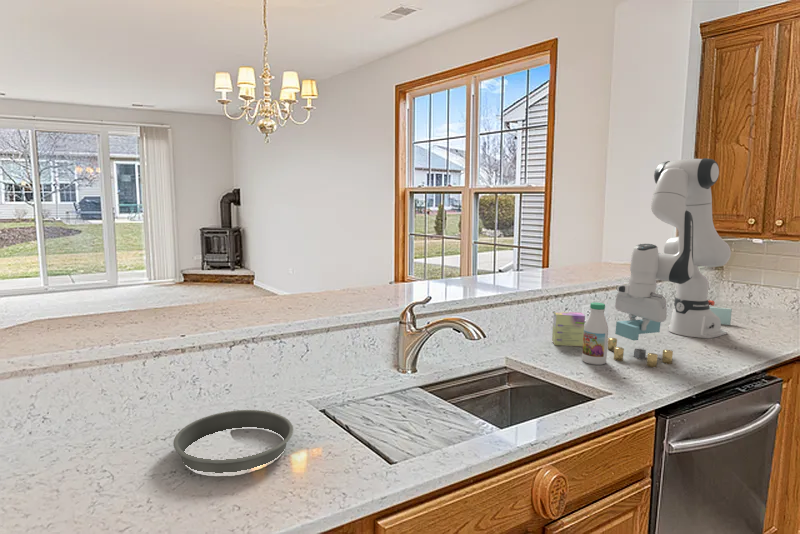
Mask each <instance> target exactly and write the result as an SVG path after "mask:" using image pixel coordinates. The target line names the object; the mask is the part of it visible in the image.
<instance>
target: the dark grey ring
mask: <svg viewBox="0 0 800 534" xmlns="http://www.w3.org/2000/svg"><path fill="white" fill-rule="evenodd" d="M242 427H257V428H264V429H269V430H272V431H274V432H276V433H278V434H280V435H281V436H282V437H283V438H284V441H283V440H281V441H280V443H278V444H277V445H276V446H274V447H272V448H270V449H267V450H266V451H265V452H262V453H259V454H256V455H252V456H248V457H243V458H237V459H226V460H211V459H203V458H197V457H194V456H191V455H188V454H186V453H185V452H184V451H185V449H186V448H187V447H188V446H189V445H191V444H192V443H193V442H195V441H197V440H198V439H200V438H202V437H204V436H206V435H209V434H213V433H215V432H218V431H223V430H226V429H232V428H242ZM293 434H294V426H293V424H292V422H291V421H290V420H289V419H288V418H286V417H285V416H283V415H280V414H278V413H275V412H271V411H267V410H259V409H240V410H239V409H237V410H230V411H224V412H219V413H215V414H211V415H210V414H209V415H207V416H205V417H201V418H200V419H197V420H195V421H194V420H193V422H191V423H189V424H187V425H186V426H184V427H183V428H182V429H180V431H178V433H176V435H175V437H174V439H173V448H174V450H175V451H176V453H177V454H178V455H180V457H181V460H183V461H182V463H183V462H184V464H185V465H187V466H188V467H190V468H191V469H194V470H197V471H203V472H215V473H223V472H237V471H241V470H247V469H251V468H254V467H257V466H260V465H263V464H266V463H268V462H270V461H272V460H274V459H275V458H277V457H278V456H279V455H280V454H281V453H282V452H283V451H284V449H285V450H286V448H287V445H288V442H289V441H290V439H291V438H292V436H293ZM284 452H285V451H284ZM184 464H183V465H184ZM185 465H184V466H185Z"/></svg>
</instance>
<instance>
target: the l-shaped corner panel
mask: <svg viewBox="0 0 800 534" xmlns="http://www.w3.org/2000/svg"><path fill="white" fill-rule="evenodd" d="M710 310H711V311H712V312H713V313H714V314H715V315H716V316H718V317H719V318H720V321H721V325H729V326H730V325H731V321H732V312H733V311H732V308H727V307H715V306H714V307H713V306H710Z"/></svg>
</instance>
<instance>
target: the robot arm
mask: <svg viewBox="0 0 800 534" xmlns="http://www.w3.org/2000/svg"><path fill="white" fill-rule="evenodd" d="M719 176H720V167H719V164H718V162H717V161H715V159H713V158H705V157H704V158H685V159H677V160H673V161H672V160H671V161H670V160H667V161H664V162H661V163H659V164H658V165H657V166H656V168H655V170H654V174H653V177H654V178H653V179H654V182H655V188H654V190H653V194H652V198H651V204H650V206H651V209H650V210H651V212H652V214H653V215H654V216H655V218H657V219H658V220H660V221H661V222H664V223H666V224H667V225H670V226H672V227H674V228H676V229H677V231H678V236H672V237H669V239H667V241H665V243H664V246H663V253H662V252H659V249H658V248H659V247H658V246H657V245H656V244H652V243H640V244H637V245H635V246H634V247H633V250H632V253H631V259H630V266H629V272H630V275H629V276H630V277H629V278H628V283H626V284H620V285H618V286H617V287H616V291H617V293H616V296H615V302H614V303H615V306H614V307H615V309H616V311H617V312H621V313H625V314H628V317H629V320H637V319H636V318H637V317H639V318H641V320H642V321H643V323H642V325H639V329H640V330H643V331H644V330H646V326H647V325H648V323H649V322H650V320H652V321H655V322H661V323H663V322H664V323H665V322H666V320H667V317H668V316H667V313H668V312H667V299H666V298H665V297H664V295H663V294H658V293H656V291H657V284H658V283H657V281H663V282H670V283H674V284H676V294H675V297H674V301H673V302H674V304H673V305H674V308H673V309H672V313H671V318H670V322H669V323H670V324H668V332H671V333H673V334H676V335H679V336H685V337H692V338H700V339H701V338H702V339H713V338H717V337H720V336H723V335H727V334H728V331H727V330H725V329H723V328H721V326H722V324H721V321H720V318H719V317H718V316H716V315H715V314H714V313H713V312H712V311H711V310H710V307H713V306H714V307H715V304H716V302H715V300H711V299H708V295H709V287H710V286H709V283H710V282H709V280H708V278H707V277H706V276H704V275H703V274H702V273H701V272H700V271H701V270H700V269H699V267H707V268H711V267H712V268H715V267H717V268H718V267H723V266H725V265H726V264H728V262H729V261H730V258H731V256H732V251H731V247H730V245H729V243H727V242H726V241H725V240H724V239H723V238H722V237H721V236H720V235H719V233H718V232H717V230H716V228H715V225H714V221H713V205H712V204H713V196H712V187H713V186H714V185H715V184H716V183H717V181H718V179H719ZM698 266H699V267H698Z"/></svg>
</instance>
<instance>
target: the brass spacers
mask: <svg viewBox="0 0 800 534" xmlns="http://www.w3.org/2000/svg"><path fill="white" fill-rule="evenodd" d="M617 343H618V338H617V337H608V345H607V351H612V352H613V360H614V361H617V362H623V361H624V352H625V348H623V347H622V346H617V345H618V344H617ZM673 352H674V351H673V350H671V349H662V354H661V355H662V356H661V358H662V359H661V363H663V364H666V363H667V364H668V365H669V364H670V365H671V363H672V364H673V355H674V353H673ZM667 364H666V365H667ZM657 365H658V354H657V353H656V352H655V353H654V352H648V353H647V354H646V366H647V367H648V368H653V367H655V368H658V366H657ZM653 369H654V368H653Z"/></svg>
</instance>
